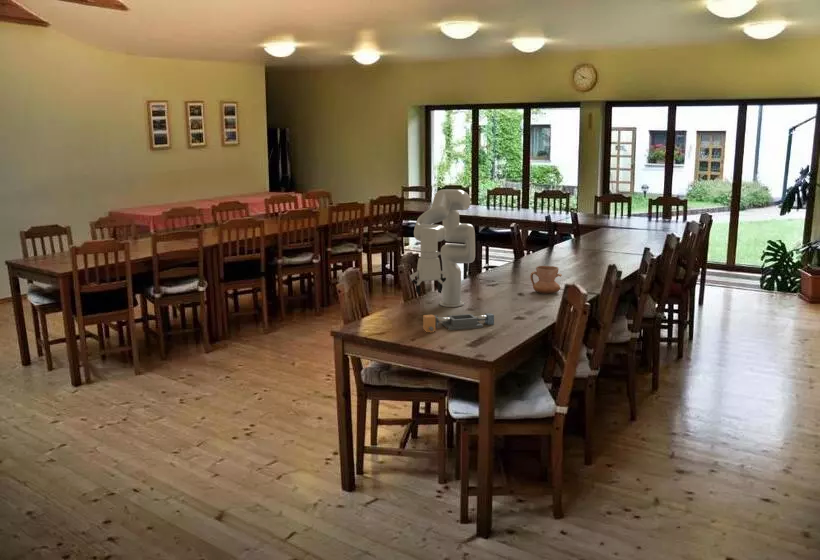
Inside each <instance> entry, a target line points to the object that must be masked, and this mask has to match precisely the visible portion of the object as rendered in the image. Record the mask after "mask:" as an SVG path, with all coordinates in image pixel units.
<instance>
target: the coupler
mask: <svg viewBox="0 0 820 560" xmlns="http://www.w3.org/2000/svg"><path fill="white" fill-rule="evenodd" d="M435 316H436V315H434V314H424V315H423V314H422V325H423V328H422V329H424V330H425V331H426V332H430V333H434V332H433V331H435V332H436V327H435ZM424 330H423V331H424ZM425 331H424V332H425ZM426 332H425V333H426Z"/></svg>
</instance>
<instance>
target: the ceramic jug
mask: <svg viewBox="0 0 820 560" xmlns="http://www.w3.org/2000/svg"><path fill="white" fill-rule="evenodd" d="M559 269H560V268H559V267H558V266H555V265H554V266H553V265H538V266H536V267H535V271H534V270H533V271H532V272H530V277H529V279H530V281H531V283H532V288H533V290H534V291H535V292H537V293H539V294H542V295H552V294H555V293H558V292H559V291H560V290H561V286H560V284H559V283H558V282H556V278H558V277H560V278H562V276H563V275H562V274H561V273H559ZM534 275H535V276H536V277H538V281H537V282H535V281H534V278H533V277H534Z"/></svg>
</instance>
